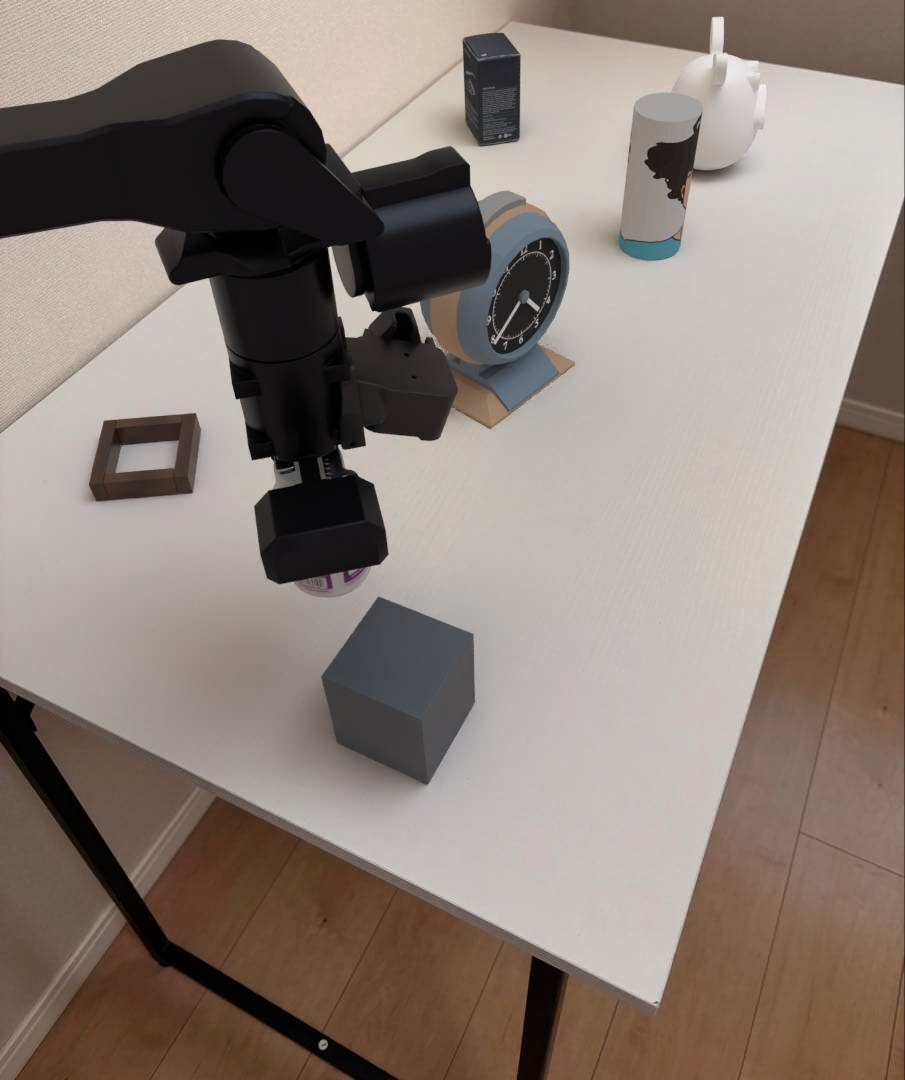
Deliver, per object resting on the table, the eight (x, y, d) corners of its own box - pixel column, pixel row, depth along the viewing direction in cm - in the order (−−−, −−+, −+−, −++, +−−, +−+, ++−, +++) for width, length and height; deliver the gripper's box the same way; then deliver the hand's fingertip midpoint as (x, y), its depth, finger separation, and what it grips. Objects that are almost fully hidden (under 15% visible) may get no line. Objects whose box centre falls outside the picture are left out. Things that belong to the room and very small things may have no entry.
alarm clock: (483, 434, 84) (482, 257, 71) (405, 388, 88) (391, 214, 75) (581, 359, 91) (597, 185, 77) (504, 320, 95) (507, 150, 82)
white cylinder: (688, 256, 102) (712, 118, 91) (628, 263, 102) (645, 125, 90) (669, 224, 107) (690, 89, 95) (611, 231, 106) (625, 95, 95)
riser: (336, 742, 63) (320, 676, 57) (388, 665, 67) (378, 595, 62) (427, 785, 61) (421, 720, 55) (475, 702, 65) (474, 633, 59)
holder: (95, 501, 80) (88, 484, 78) (110, 436, 85) (103, 420, 84) (192, 492, 80) (187, 476, 78) (201, 429, 85) (196, 412, 84)
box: (520, 141, 121) (522, 53, 113) (478, 147, 121) (477, 59, 113) (504, 115, 127) (505, 29, 119) (463, 120, 126) (461, 34, 118)
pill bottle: (353, 527, 63) (334, 417, 56) (385, 581, 60) (370, 472, 52) (276, 556, 61) (248, 447, 54) (306, 613, 58) (279, 505, 51)
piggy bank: (770, 182, 112) (801, 49, 101) (676, 192, 111) (696, 59, 100) (734, 136, 121) (759, 9, 110) (645, 145, 120) (661, 17, 109)
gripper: (486, 419, 42) (487, 630, 53) (404, 212, 54) (419, 420, 65) (233, 464, 40) (291, 671, 52) (208, 241, 52) (259, 448, 64)
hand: (323, 538), depth 58 cm, fingers closed on pill bottle, 5 cm apart
